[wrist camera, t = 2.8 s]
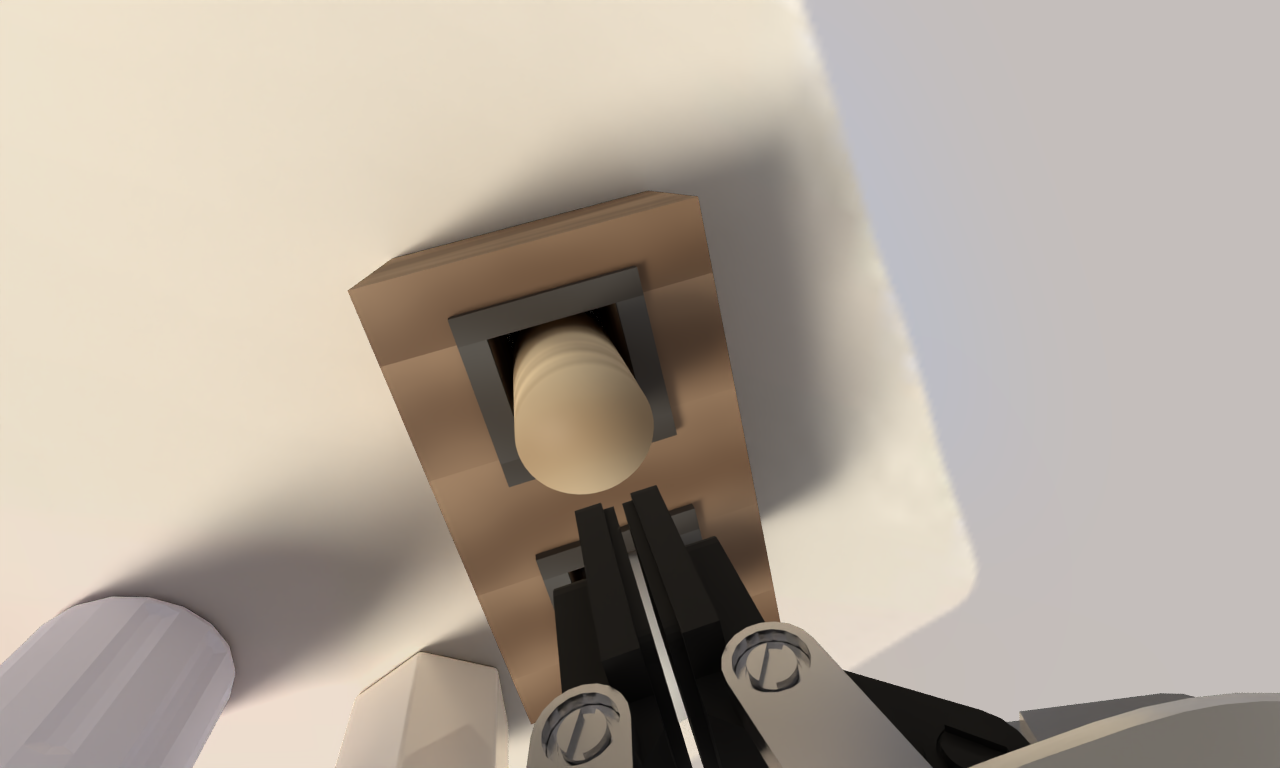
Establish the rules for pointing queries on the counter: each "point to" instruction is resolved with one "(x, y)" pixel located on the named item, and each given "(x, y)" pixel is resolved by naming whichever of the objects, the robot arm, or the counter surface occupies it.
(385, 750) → the jar
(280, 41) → the counter surface
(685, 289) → the walnut block
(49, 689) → the soap bottle
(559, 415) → the oak peg
